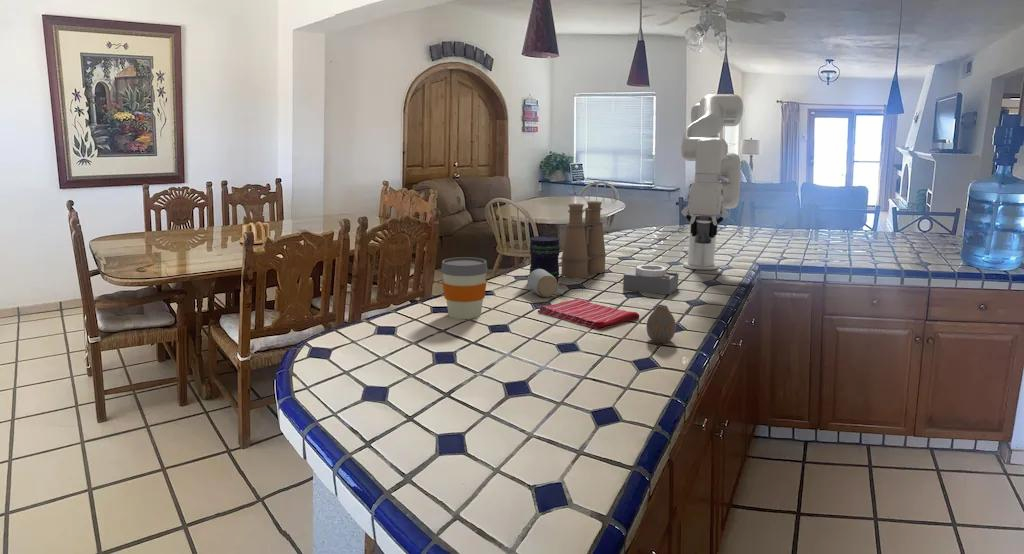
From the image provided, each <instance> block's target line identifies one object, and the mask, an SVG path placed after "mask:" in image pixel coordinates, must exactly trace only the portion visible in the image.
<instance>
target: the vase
mask: <svg viewBox="0 0 1024 554" xmlns="http://www.w3.org/2000/svg"><path fill="white" fill-rule="evenodd" d="M676 327H677V324H676V320H675V317H674V315H673V313H671V311H670V309H669V307H668V306H667V305H666V304H658V305H656V307H655V309H654V310H653V311H652V312H651V314H650V315H649V316H648V318H647V321H646V332H647V336H648V337H649V339H650V340H651V341H652V342H653V343H658V344H666V343H667V344H668V343H669V342H670V341H671V340H672V339H673V338H674V337H675V334H676V329H677V328H676Z"/></svg>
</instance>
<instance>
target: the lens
mask: <svg viewBox="0 0 1024 554" xmlns="http://www.w3.org/2000/svg"><path fill="white" fill-rule="evenodd" d="M712 225H713V221H712V217H711V216H697V217H696V227H695V243H701V244H710V243H712V238H711V226H712Z"/></svg>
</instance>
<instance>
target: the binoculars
mask: <svg viewBox="0 0 1024 554" xmlns="http://www.w3.org/2000/svg"><path fill="white" fill-rule="evenodd" d="M586 204H587V207H585V208H584V206H585V204H584V203H569V204H568V207H569V209H568V210H567V212H568V213H569V215H568V217H569V218H568V220H569V221H568V223H566V225H565V227H566V230H565V236H564V240H563V241H564V243H563V249H562V255H561V257H560V260H561V275H562V276H565V277H570V278H569V279H574V278H578V279H585V278H587V277H588V275H589V274H588V273H593V274H592V275H597V274H596V273H600V274H604V273H606V257H607V255H608V253H606V247H605V235H604V227H603V225H604V222H603V220H601V211H602V210H603V208H602V207H601V205H602V204H603V201H595V200H593V201H591V200H589V201H587V202H586ZM583 213H584V223H583ZM603 272H604V273H603ZM561 275H560V276H561ZM562 276H561V277H562ZM565 277H564V278H565ZM584 277H585V278H584Z"/></svg>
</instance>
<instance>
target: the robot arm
mask: <svg viewBox="0 0 1024 554" xmlns="http://www.w3.org/2000/svg"><path fill="white" fill-rule="evenodd" d="M743 111H744V104H743V99H742V98H741V96H739V95H738V94H732V93H731V94H721V93H719V94H715V93H713V94H707V95H705V96H704V97H702V98H701V99H700V101H699V102H698V103H696V104H694V105H693V106H692V108H691V111H690V124H689V125H688V126H687V127H686V128H685V130H684V132H683V134H682V139H681V146H680V147H681V148H680V151H681V156H682V158H683V160H685V161H687V162H695V166H694V167H695V168H694V169H695V171H694V172H695V173H694V182H692V183H691V184H692V185H690V188H689V191H688V192H689V195H688V196H689V197H688V198H689V199H688V204H687V205H686V206H685V207H684V208H683V209H682V210H681V211H680V212H681V214H682V216H684V217H685V219H686V220H687V221H689V233H688V234H689V235H688V250H687V252H688V254H687V261H684V262H683V265H682V266H683V267H684V268H687V269H691V270H700V271H709V270H710V271H711V270H716V269H718V268H719V264H718V263H716V262H715V257H716V256H715V252H716V243H717V241H716V240H717V235H718V225H719V224H720V223H721V222H722V221H724V220H725V219H726V218H727V217H729V216H730V213H729V212H728V210H729V209H735V208H737V206H738V205H739V203H740V193H741V176H742V175H741V171H742V167H741V166H742V163H741V158H740V156H739V155H738V154H737V153H733V152H728V151H729V144H728V143H727V141H726V140H725V139H724V138H722V137H720V136H719V134H720V132H721V131H722V130H723V128H724V127H736V126H738V125H739V124H740V123H741V120H742V116H743V113H744V112H743ZM721 181H722V182H721ZM725 181H726V182H725ZM720 215H721V216H720ZM697 216H711V217H712V221H713V225H712V226H711V238H712V243H710V244H701V243H695V227H696V217H697ZM718 216H719V217H718Z"/></svg>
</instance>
